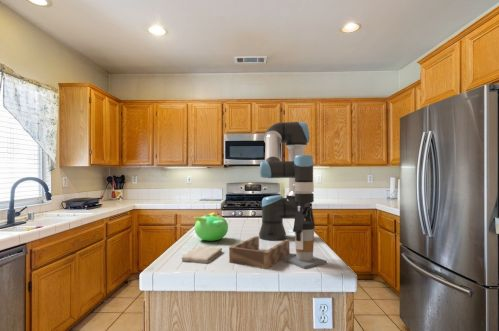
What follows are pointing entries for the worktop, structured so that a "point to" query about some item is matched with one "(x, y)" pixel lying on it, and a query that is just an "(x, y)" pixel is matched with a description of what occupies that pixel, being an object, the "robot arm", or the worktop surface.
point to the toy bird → (211, 227)
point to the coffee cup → (306, 242)
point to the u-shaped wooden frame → (257, 253)
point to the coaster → (303, 264)
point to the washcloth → (201, 254)
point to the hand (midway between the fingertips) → (304, 245)
